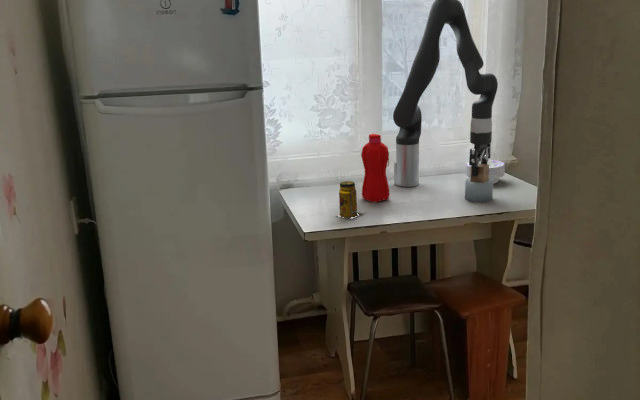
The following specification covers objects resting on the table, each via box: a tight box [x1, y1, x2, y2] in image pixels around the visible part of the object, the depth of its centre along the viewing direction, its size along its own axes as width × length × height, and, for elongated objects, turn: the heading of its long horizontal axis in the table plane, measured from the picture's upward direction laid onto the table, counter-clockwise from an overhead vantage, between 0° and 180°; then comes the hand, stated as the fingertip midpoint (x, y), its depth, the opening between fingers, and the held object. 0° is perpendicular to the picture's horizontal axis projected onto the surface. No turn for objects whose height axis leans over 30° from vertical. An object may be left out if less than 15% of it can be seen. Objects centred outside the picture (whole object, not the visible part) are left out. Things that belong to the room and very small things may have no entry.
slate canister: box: [464, 177, 494, 204], centre depth 224 cm, size 10×10×7 cm
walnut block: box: [469, 163, 489, 183], centre depth 222 cm, size 5×5×6 cm
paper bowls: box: [465, 159, 506, 185], centre depth 247 cm, size 15×15×8 cm
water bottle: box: [360, 133, 390, 203], centre depth 227 cm, size 9×11×25 cm
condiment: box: [338, 180, 365, 219], centre depth 211 cm, size 7×8×12 cm
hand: (479, 173), depth 223 cm, fingers open, 8 cm apart
